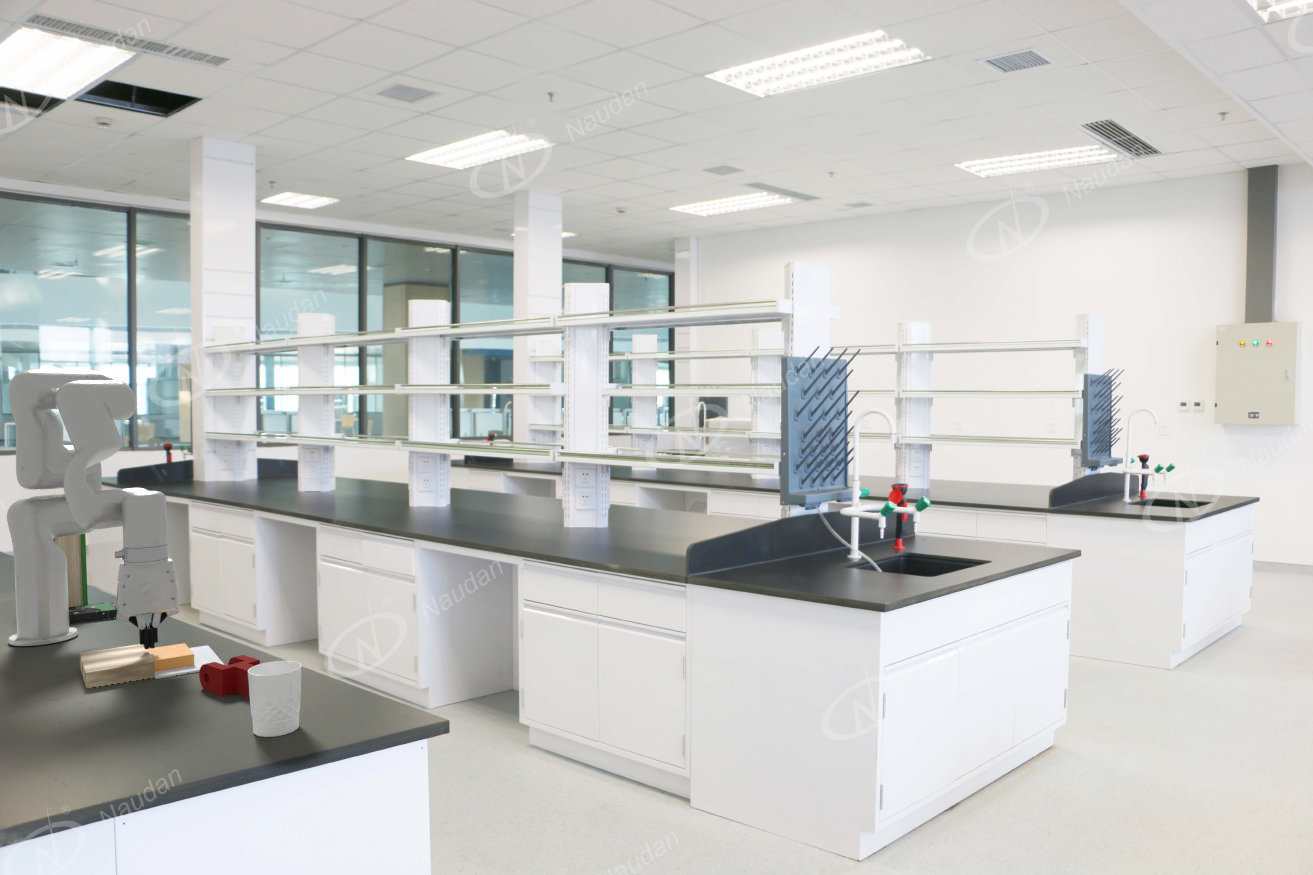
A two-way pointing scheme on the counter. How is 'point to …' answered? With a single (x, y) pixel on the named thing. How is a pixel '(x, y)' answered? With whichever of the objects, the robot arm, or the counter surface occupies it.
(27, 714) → the counter surface
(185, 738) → the counter surface
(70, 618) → the disk drive
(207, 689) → the mechanical linkage
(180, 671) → the mat
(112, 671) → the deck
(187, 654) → the slab
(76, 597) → the hardback book
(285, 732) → the white cup
